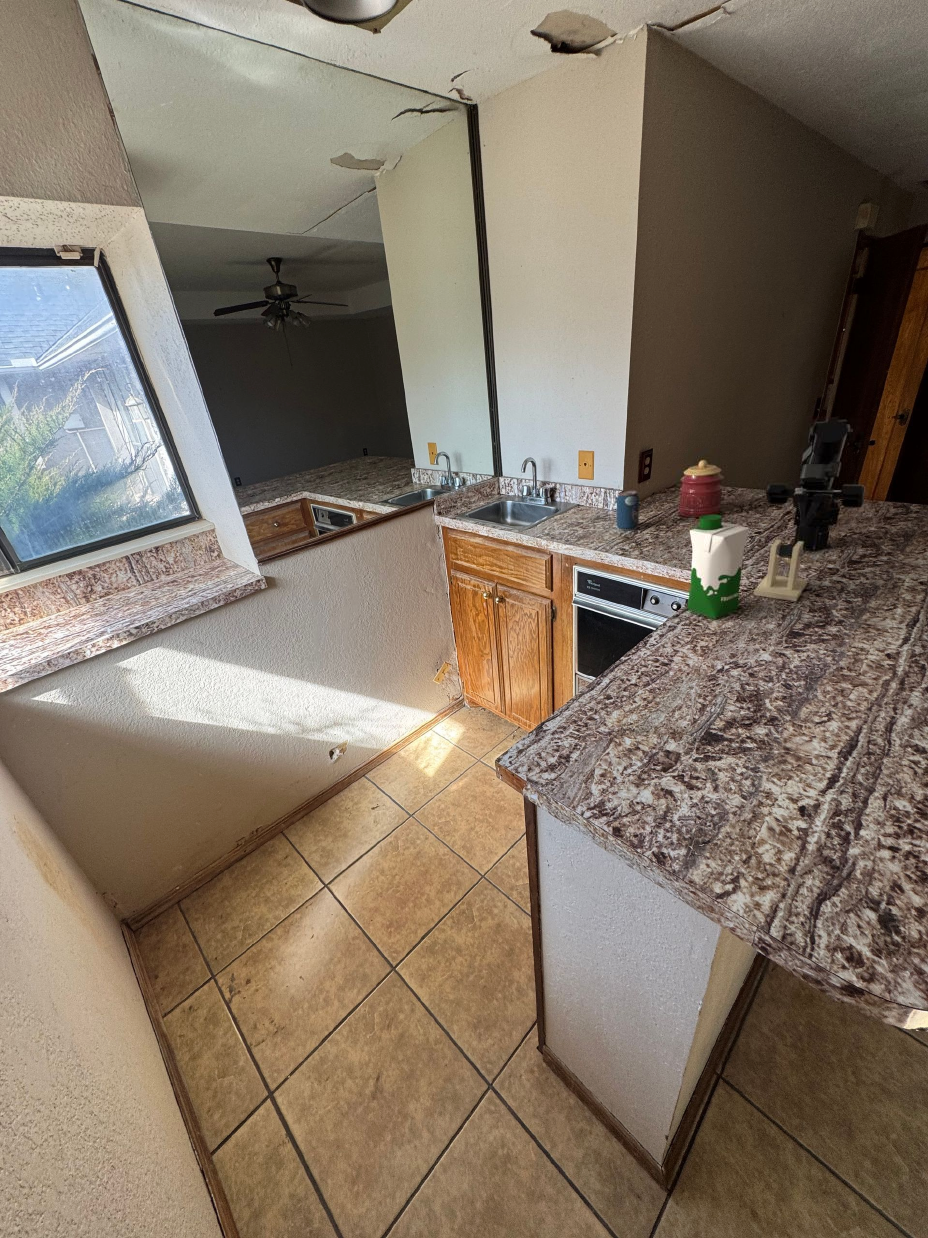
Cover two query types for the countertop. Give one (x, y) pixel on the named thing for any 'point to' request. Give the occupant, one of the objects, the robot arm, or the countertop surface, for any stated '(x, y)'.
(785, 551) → the switch lever
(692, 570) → the milk carton
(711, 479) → the kitchen canister
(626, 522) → the soda can
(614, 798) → the countertop surface
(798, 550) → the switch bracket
